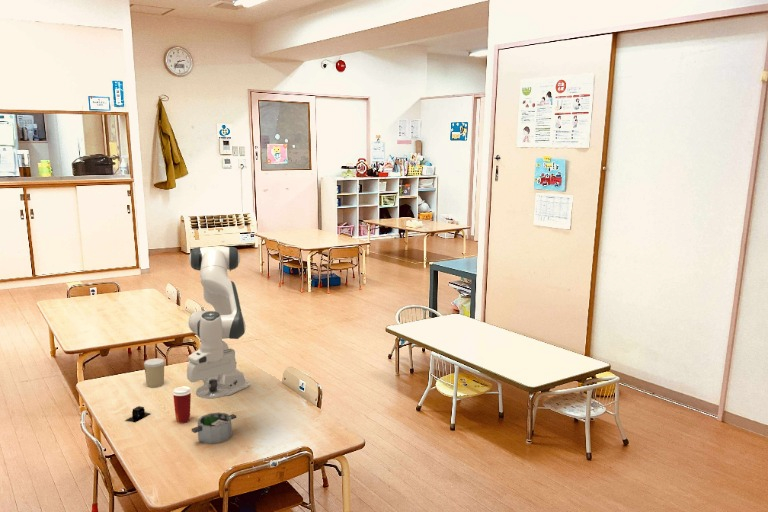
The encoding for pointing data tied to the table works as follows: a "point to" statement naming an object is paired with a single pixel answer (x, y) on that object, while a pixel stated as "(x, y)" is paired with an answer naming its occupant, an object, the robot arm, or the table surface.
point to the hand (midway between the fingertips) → (212, 386)
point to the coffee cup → (154, 372)
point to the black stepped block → (138, 414)
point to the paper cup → (182, 403)
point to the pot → (214, 428)
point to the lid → (213, 390)
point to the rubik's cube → (218, 422)
